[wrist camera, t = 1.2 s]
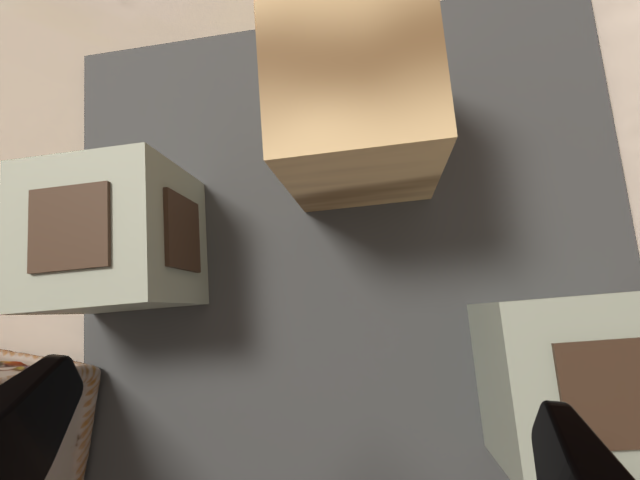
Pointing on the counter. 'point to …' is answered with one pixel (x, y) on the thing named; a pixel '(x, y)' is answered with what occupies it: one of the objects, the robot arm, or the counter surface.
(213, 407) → the slate rubber mat
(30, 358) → the decorative jar
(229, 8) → the counter surface
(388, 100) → the plain maple block
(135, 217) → the brown paneled pale cube
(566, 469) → the robot arm
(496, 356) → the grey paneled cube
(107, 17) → the counter surface
